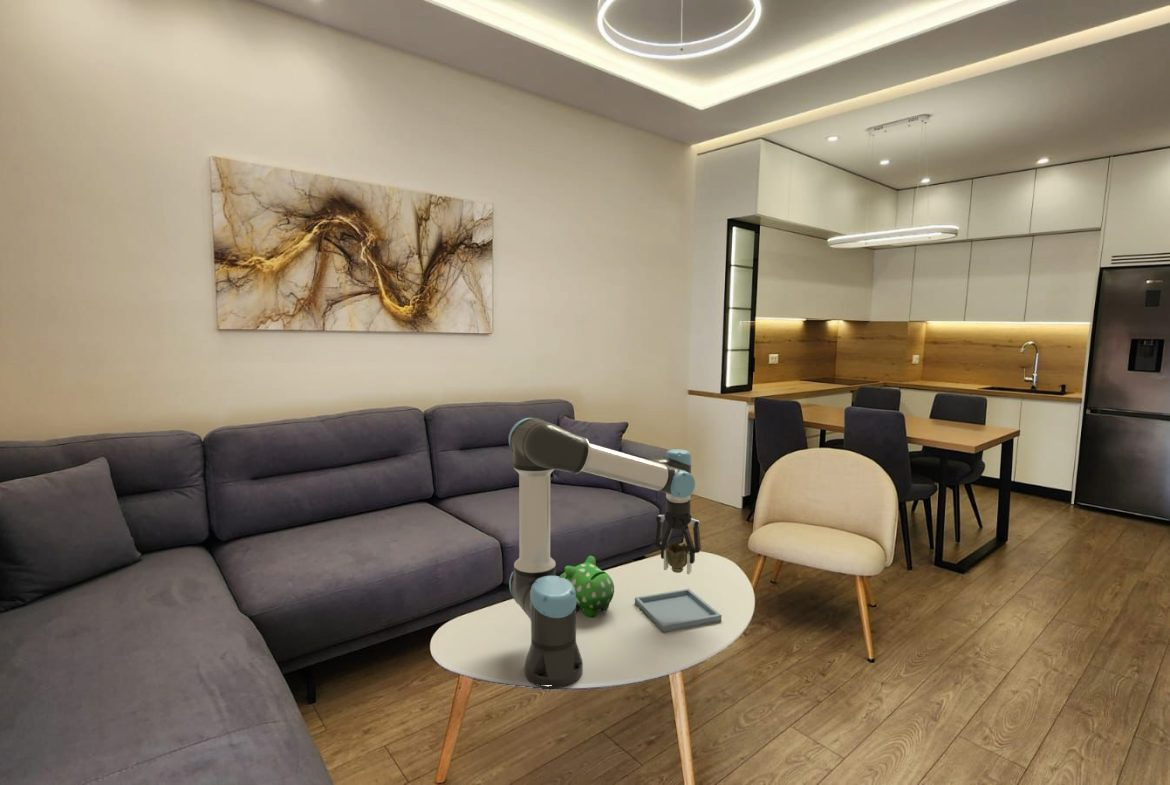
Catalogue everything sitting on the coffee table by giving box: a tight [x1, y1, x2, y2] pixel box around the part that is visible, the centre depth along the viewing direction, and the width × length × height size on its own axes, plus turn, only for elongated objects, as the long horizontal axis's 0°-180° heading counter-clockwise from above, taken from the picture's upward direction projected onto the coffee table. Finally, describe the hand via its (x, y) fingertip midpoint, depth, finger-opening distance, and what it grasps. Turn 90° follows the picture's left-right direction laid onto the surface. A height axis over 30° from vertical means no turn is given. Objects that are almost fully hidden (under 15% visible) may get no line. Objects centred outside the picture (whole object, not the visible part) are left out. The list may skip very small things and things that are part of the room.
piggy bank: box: [559, 555, 615, 618], centre depth 185 cm, size 14×18×15 cm
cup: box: [666, 542, 689, 574], centre depth 181 cm, size 8×7×8 cm
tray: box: [634, 588, 722, 633], centre depth 183 cm, size 20×20×2 cm
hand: (677, 570), depth 181 cm, fingers closed on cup, 7 cm apart
